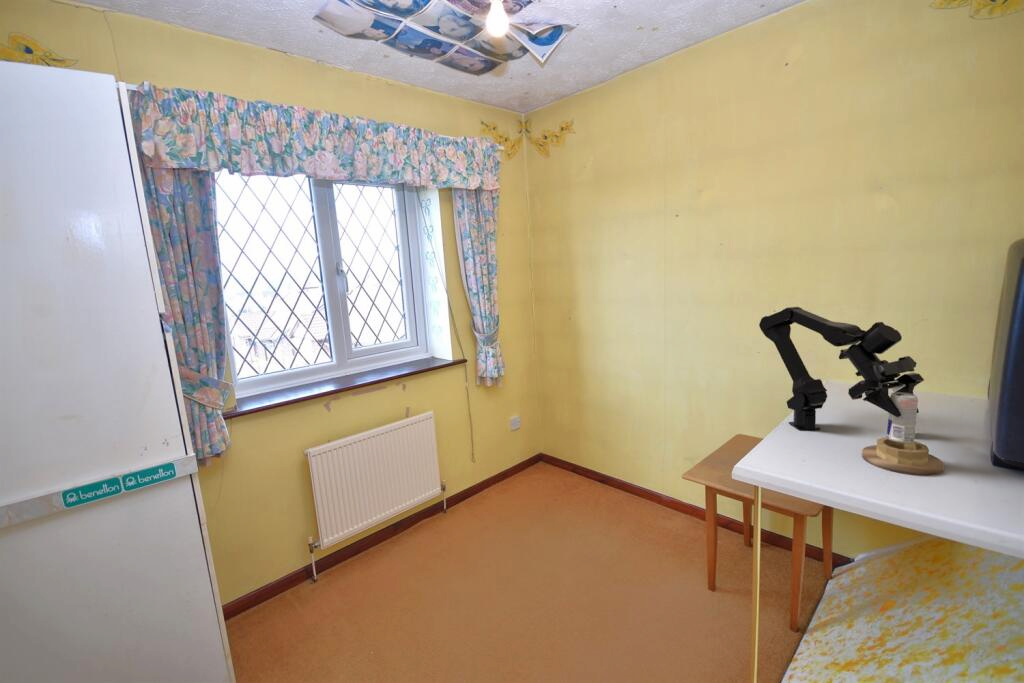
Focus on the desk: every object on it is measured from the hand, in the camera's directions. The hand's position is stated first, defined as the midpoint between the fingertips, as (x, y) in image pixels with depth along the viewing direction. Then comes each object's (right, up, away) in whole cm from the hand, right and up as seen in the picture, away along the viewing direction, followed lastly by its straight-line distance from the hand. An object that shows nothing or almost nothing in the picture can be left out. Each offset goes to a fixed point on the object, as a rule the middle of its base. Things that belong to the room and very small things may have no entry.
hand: (908, 414), depth 112 cm
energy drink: (0, -7, +3) cm, 7 cm away
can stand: (+1, -13, +4) cm, 13 cm away
